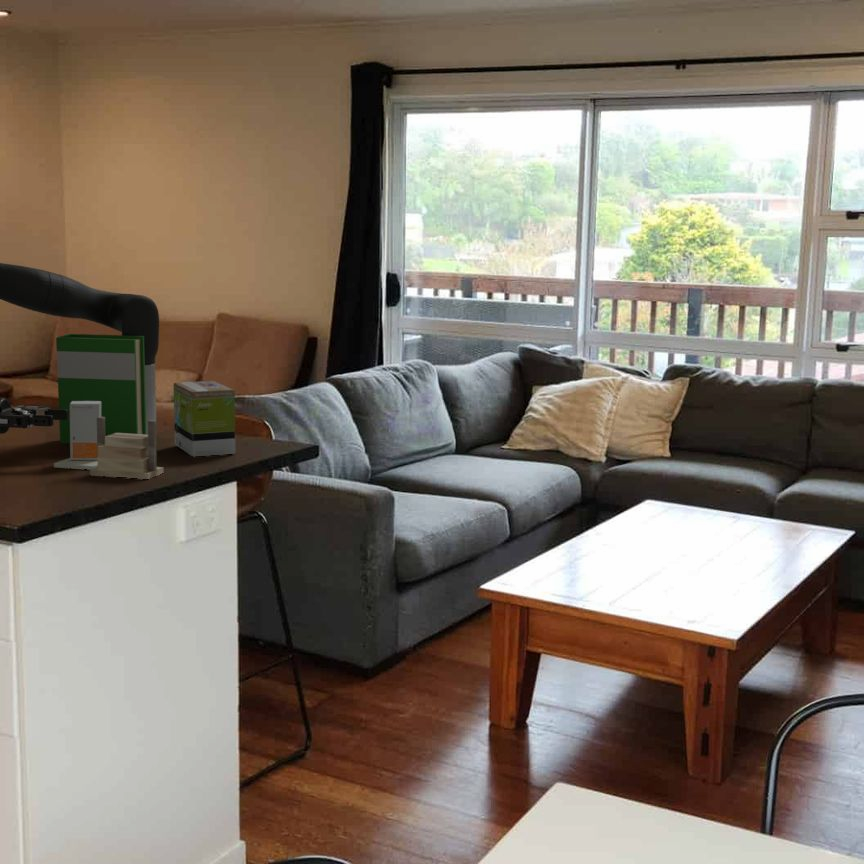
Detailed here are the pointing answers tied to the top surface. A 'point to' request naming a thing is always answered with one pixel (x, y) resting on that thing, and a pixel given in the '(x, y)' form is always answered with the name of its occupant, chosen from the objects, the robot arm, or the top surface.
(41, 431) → the top surface
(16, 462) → the top surface
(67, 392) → the hardback book
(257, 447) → the top surface
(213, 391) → the tea box
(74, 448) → the skincare box
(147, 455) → the offcut rack
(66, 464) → the sage mat
